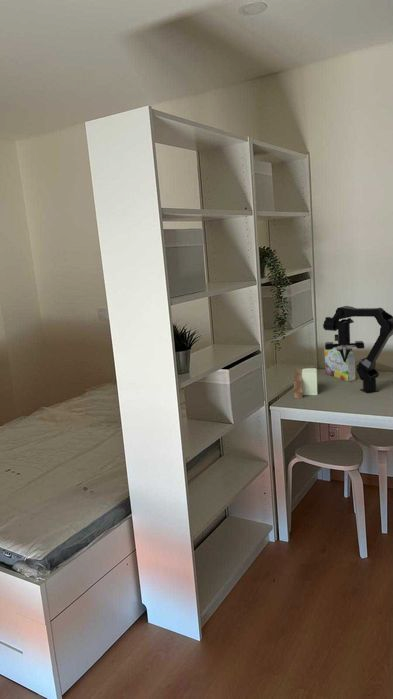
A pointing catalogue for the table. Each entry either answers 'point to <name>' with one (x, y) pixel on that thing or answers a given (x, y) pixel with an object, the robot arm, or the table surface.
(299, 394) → the backstop board
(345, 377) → the snack box
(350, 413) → the table surface
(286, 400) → the table surface
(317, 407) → the table surface
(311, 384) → the green block
